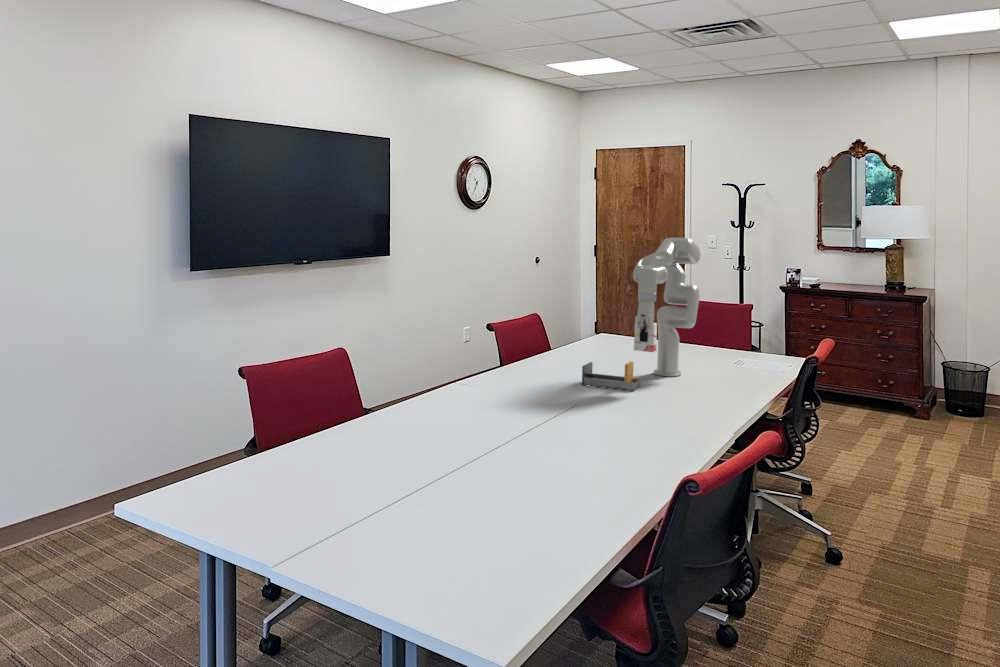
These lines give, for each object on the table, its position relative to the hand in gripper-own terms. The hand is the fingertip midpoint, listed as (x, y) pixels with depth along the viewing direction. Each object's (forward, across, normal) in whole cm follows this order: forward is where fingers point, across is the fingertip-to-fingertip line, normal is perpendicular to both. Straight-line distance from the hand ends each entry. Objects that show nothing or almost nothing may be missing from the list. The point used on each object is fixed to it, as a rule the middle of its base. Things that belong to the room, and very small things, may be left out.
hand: (645, 340), depth 312 cm
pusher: (+21, 0, -7) cm, 22 cm away
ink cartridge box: (+5, 0, 0) cm, 5 cm away
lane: (+21, 0, -14) cm, 26 cm away
